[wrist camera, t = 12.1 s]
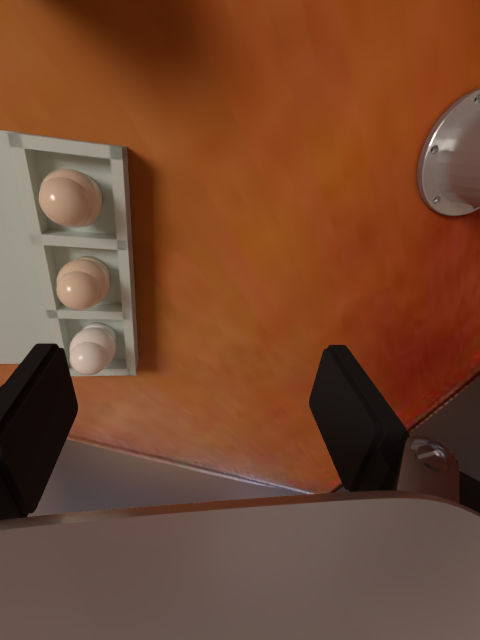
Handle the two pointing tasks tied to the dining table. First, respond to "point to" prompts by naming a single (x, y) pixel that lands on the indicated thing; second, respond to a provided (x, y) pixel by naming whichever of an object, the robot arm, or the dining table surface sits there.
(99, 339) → the white egg shape
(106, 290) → the brown egg middle
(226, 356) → the dining table surface
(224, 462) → the dining table surface
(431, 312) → the dining table surface
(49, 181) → the brown egg end
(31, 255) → the egg carton
